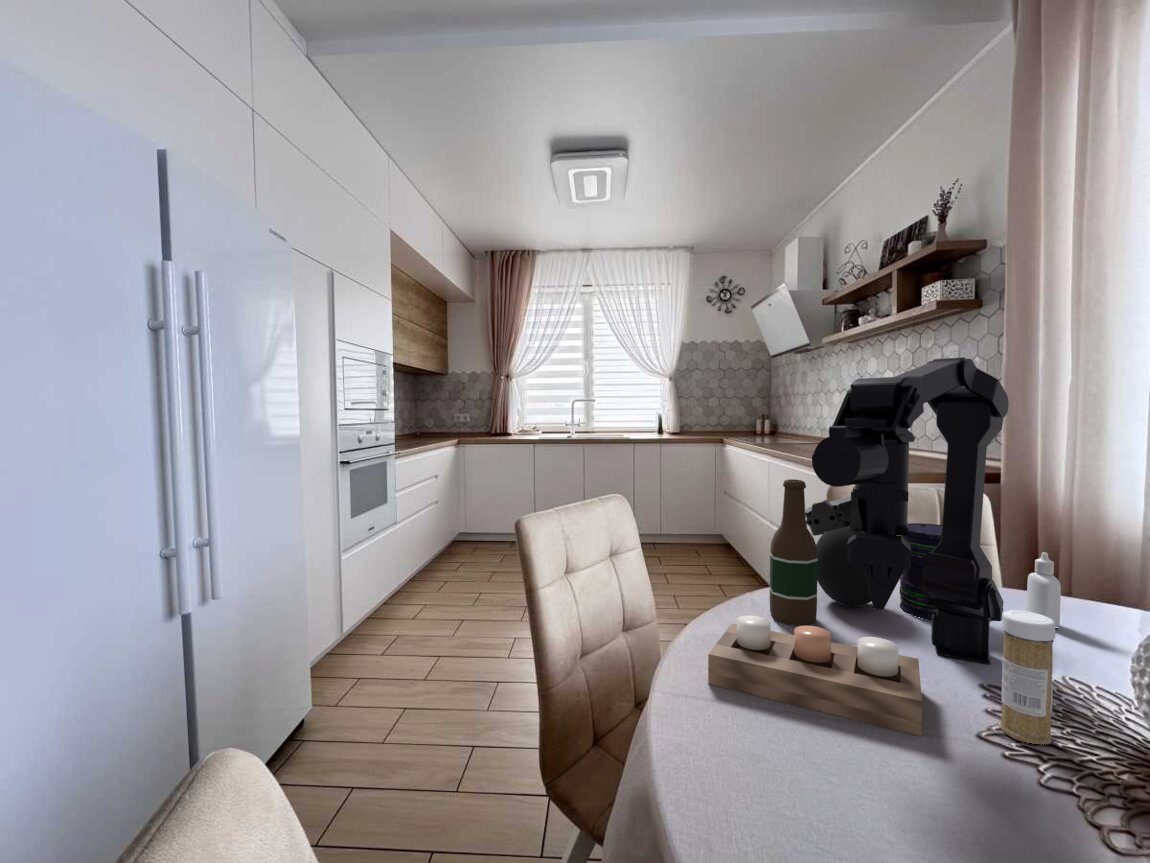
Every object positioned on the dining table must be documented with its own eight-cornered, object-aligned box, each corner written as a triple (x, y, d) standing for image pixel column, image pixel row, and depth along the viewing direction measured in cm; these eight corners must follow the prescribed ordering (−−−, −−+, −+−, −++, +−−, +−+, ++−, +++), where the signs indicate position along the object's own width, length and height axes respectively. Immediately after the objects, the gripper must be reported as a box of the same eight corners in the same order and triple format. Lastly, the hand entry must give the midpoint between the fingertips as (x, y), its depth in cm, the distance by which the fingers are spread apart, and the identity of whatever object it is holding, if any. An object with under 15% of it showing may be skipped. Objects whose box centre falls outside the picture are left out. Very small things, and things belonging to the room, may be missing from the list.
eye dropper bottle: (1059, 621, 95) (1062, 551, 94) (1059, 631, 91) (1062, 558, 90) (1026, 615, 98) (1028, 547, 97) (1025, 624, 93) (1027, 554, 93)
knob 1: (773, 640, 77) (773, 619, 77) (766, 652, 74) (767, 630, 74) (740, 634, 80) (741, 613, 80) (733, 645, 76) (733, 623, 76)
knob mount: (917, 688, 72) (918, 658, 72) (921, 736, 62) (922, 701, 62) (731, 649, 84) (731, 623, 84) (708, 683, 74) (708, 654, 74)
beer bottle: (812, 630, 92) (815, 484, 90) (764, 620, 96) (765, 481, 95) (820, 615, 98) (822, 479, 97) (774, 606, 102) (775, 476, 101)
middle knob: (832, 651, 74) (832, 629, 74) (828, 665, 70) (829, 641, 70) (796, 645, 76) (797, 623, 76) (791, 657, 72) (792, 634, 72)
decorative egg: (875, 622, 95) (877, 535, 94) (802, 605, 103) (803, 524, 102) (895, 603, 104) (896, 523, 103) (826, 589, 112) (827, 515, 111)
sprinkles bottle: (1058, 738, 62) (1062, 618, 61) (1042, 752, 59) (1046, 627, 58) (1008, 719, 65) (1011, 605, 65) (991, 731, 63) (995, 613, 62)
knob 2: (897, 664, 70) (898, 641, 70) (898, 679, 66) (898, 654, 66) (858, 657, 72) (859, 634, 72) (856, 671, 68) (857, 647, 68)
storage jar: (978, 622, 94) (981, 535, 94) (920, 622, 95) (922, 535, 94) (940, 602, 104) (942, 523, 104) (888, 602, 104) (889, 523, 104)
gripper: (818, 469, 80) (816, 576, 81) (799, 485, 64) (797, 618, 65) (908, 473, 75) (906, 588, 75) (912, 492, 59) (909, 638, 59)
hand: (878, 606), depth 69 cm, fingers closed
